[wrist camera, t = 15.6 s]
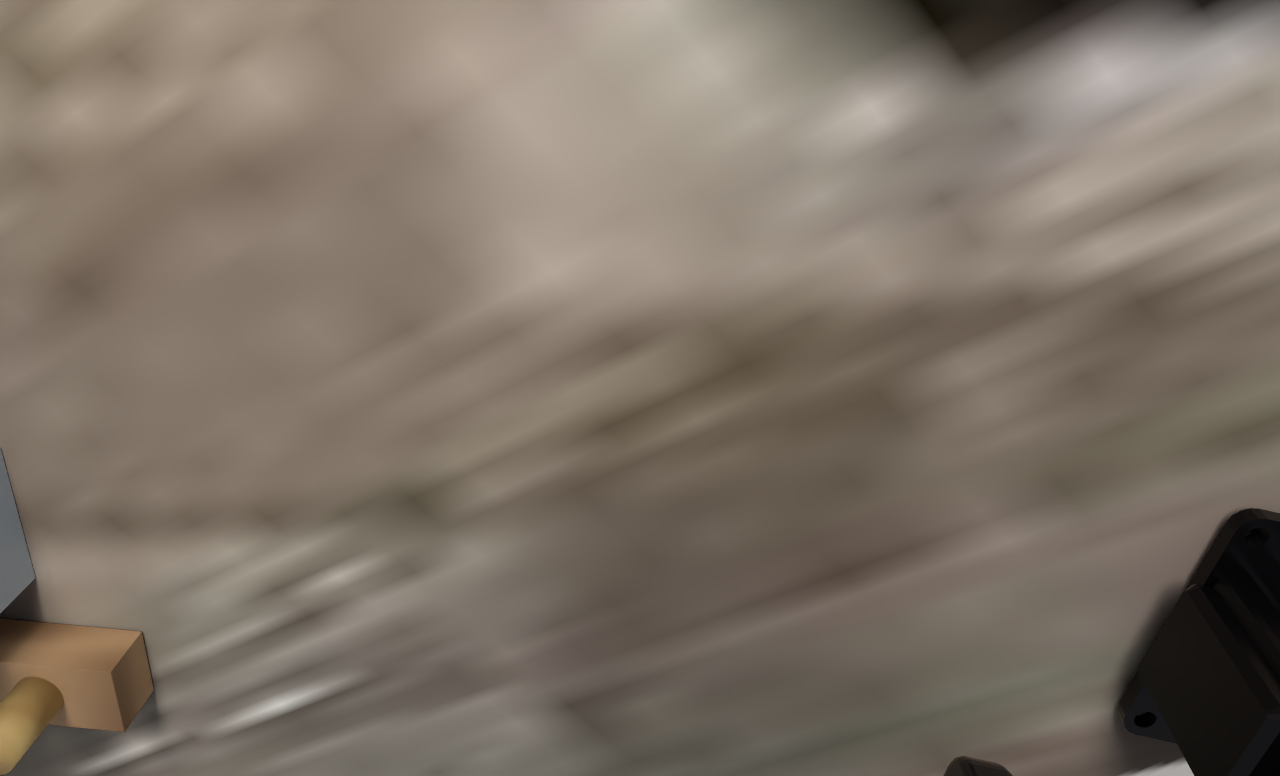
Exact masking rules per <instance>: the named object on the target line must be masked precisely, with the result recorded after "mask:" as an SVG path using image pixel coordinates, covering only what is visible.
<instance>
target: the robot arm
mask: <svg viewBox="0 0 1280 776" xmlns="http://www.w3.org/2000/svg"><path fill="white" fill-rule="evenodd" d="M1255 528H1260V529H1259V531H1258V532H1257V533H1256V534H1254V535H1252V536H1249V537H1245V535H1246V534H1247V533H1248V532H1249V531H1250V530H1253V529H1255ZM1142 712H1146V713H1145V714H1142V715H1138V714H1140V713H1142ZM1118 713H1119V716H1120V718H1121V720H1122V722H1123V724H1124V726H1125V728H1126V729H1127V730H1128V731H1129V732H1131V733H1134V734H1137V735H1141V736H1146V737H1150V738H1155V739H1159V740H1164V741H1168V742H1173V743H1177V744H1178V746H1179V748H1180V750H1181V751H1182V753H1183V755H1184V757H1185V759H1186V761H1187V763H1188V765H1189V767H1190V768H1191V770H1192V772H1193V774H1194V776H1280V513H1275V512H1271V511H1267V510H1262V509H1253V508H1249V509H1245V510H1242V511H1239V512H1238V513H1236V514H1234V515H1233V516H1232V517H1231V518H1230V519H1229V520H1228V521H1227V522H1226V524H1225V526H1224V527H1223V529H1222V531H1221V532H1220V534H1219V536H1218V538H1217V539H1216V541H1215V543H1214V544H1213V546H1212V548H1211V549H1210V551H1209V553H1208V554H1207V556H1206V558H1205V560H1204V561H1203V563H1202V565H1201V566H1200V568H1199V570H1198V571H1197V573H1196V575H1195V576H1194V578H1193V580H1192V582H1191V583H1190V585H1189V587H1188V588H1187V589H1186V590H1185V591H1184V592H1183V594H1182V595H1181V597H1180V599H1179V600H1178V602H1177V604H1176V606H1175V607H1174V609H1173V611H1172V612H1171V614H1170V616H1169V617H1168V619H1167V621H1166V622H1165V624H1164V626H1163V628H1162V629H1161V631H1160V633H1159V634H1158V636H1157V638H1156V639H1155V641H1154V643H1153V644H1152V646H1151V648H1150V650H1149V651H1148V653H1147V655H1146V656H1145V658H1144V660H1143V661H1142V663H1141V665H1140V667H1139V671H1138V673H1137V675H1136V676H1135V678H1134V680H1133V681H1132V683H1131V685H1130V686H1129V688H1128V690H1127V692H1126V693H1125V695H1124V697H1123V698H1122V700H1121V702H1120V703H1119V707H1118ZM944 776H1012V774H1011V773H1010V772H1009V771H1008V770H1007V769H1006V768H1004V767H1003V766H1002V765H999V764H997V763H993V762H989V761H984V760H979V759H975V758H970V757H966V756H962V757H957V758H955V759H954V760H953V761H952V762H951V763H950V765H949V766H948V768H947V770H946V772H945V774H944Z"/></svg>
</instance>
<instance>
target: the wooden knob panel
mask: <svg viewBox="0 0 1280 776" xmlns="http://www.w3.org/2000/svg"><path fill="white" fill-rule="evenodd" d="M153 691H154V688H153V684H152V679H151V674H150V669H149V664H148V660H147V655H146V650H145V645H144V640H143V636H142V632H139V631H128V630H118V629H107V628H97V627H86V626H76V625H65V624H55V623H44V622H34V621H23V620H13V619H2V618H0V775H4V774H7V773H9V772H10V771H11V770H12V769H13V768H14V766H15V765H16V764H17V763H18V761H19V760H20V759H21V758H22V756H23V755H24V754H25V753H26V751H27V750H28V749H29V748H30V746H31V745H32V744H33V743H34V741H35V740H36V739H37V738H38V736H39V735H40V734H41V733H42V731H43V730H44V729H45V728H46V726H47V725H58V726H68V727H79V728H89V729H99V730H109V731H119V732H125V731H126V729H127V728H128V726H129V725H130V723H131V722H132V721H133V719H134V718H135V716H136V715H137V713H138V712H139V711H140V709H141V708H142V706H143V705H144V703H145V702H146V701H147V699H148V698H149V696H150V695H151V693H152V692H153Z"/></svg>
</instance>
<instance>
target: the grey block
mask: <svg viewBox="0 0 1280 776" xmlns="http://www.w3.org/2000/svg"><path fill="white" fill-rule="evenodd" d="M34 579H35V574H34V570H33V567H32V563H31V559H30V556H29V552H28V548H27V544H26V541H25V537H24V533H23V530H22V526H21V522H20V519H19V515H18V511H17V507H16V504H15V500H14V496H13V493H12V489H11V485H10V481H9V478H8V474H7V470H6V467H5V463H4V459H3V455H2V452H1V448H0V613H1V612H2V611H3V610H4V609H5V608H6V607H7V606H8V605H9V604H10V603H11V602H12V601H13V600H14V599H15V598H16V597H17V596H18V595H19V594H20V593H21V592H22V591H23V590H24V589H25V588H26V587H27V586H28V585H29V584H30V583H31V582H32V581H33V580H34Z"/></svg>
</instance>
